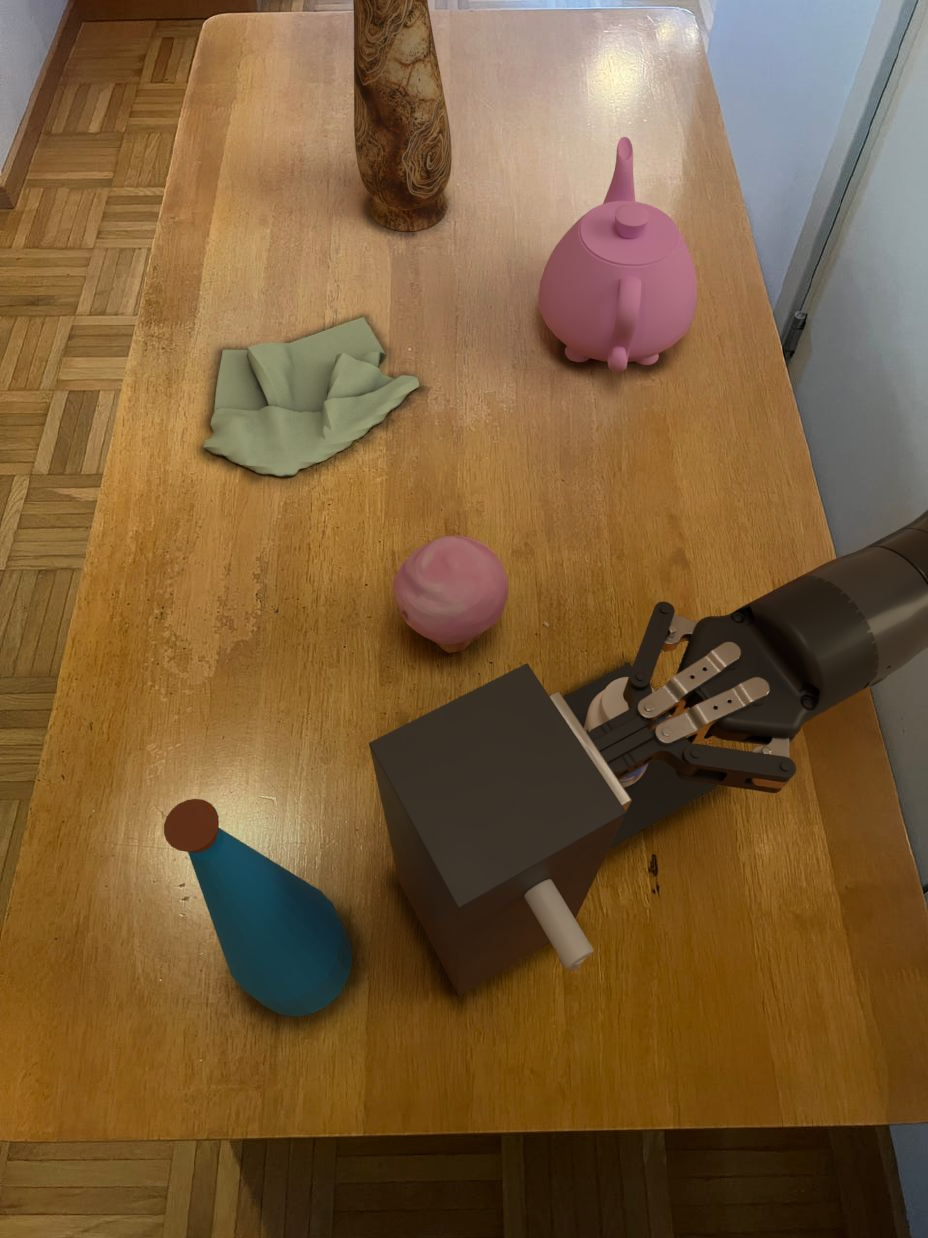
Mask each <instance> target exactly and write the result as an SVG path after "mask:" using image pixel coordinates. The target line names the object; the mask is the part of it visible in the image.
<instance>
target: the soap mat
mask: <svg viewBox="0 0 928 1238" xmlns="http://www.w3.org/2000/svg"><path fill="white" fill-rule="evenodd" d="M632 667H633V665H631V664H630V662H628V663H625V664H623V665H622V666H620V667H617V668H616V669H614V670H611V671H610V672H607V674H605V675H602V676H601V677H599V678H597V679H595V680H593V681H591V682H589V683H587V684H585V685H583V686H581V687H579V688H577V689H576V690H575V689H574V691H571V692H570V693H568V694H566V695H564V696H562V697H563V698H564V700H565V701H566V703H567V704H568V706H569V707H570V709H571V710H572V712H573V713H574V715H575V716H576V718H577V719H578V721H579V722H580V724H581V725H582V727H583V728H584V725H585V721H586V717H587V713H588V709H589V706H590V704H591V702H592V701H593V699H594V698H595V697H596V696H597V695H598V694H599V693H600V692H602V691H603V690H605V688H606V687H607V686H608V685H609V684H610V683H611V682H613V681H614V680H616V679H619V678H623V677H629V675H630V672H631V669H632ZM717 786H718V785H715V784H708V783H701V782H695V781H688V780H683V779H681V778H680V777H678V775H677V774H676V771H675V768H673V767H672V766H671V765H669V764H668V763H666V762H665V761H662V760H655V761H652V762H650V763H648V766H647V768H646V770H645V772H644V773H643V775H642V776H641V777H640V778H639V779H638V780H637V781H636V782H635V783H633V784H632V785H629V786H627V787H623V788H624V789H625V791H626V792H627V794H628V795H629V796H630V798H631V800H632V801H631V803H630V805H629V807H628V809H627V811H626V812H627V813H626V815H625V817H624V819H623V821H622V823H621V825H620V827H619V829H618V831H617V834H616V836H615V838H614V840H613V842H612V844H611V846H610V848H609V850H610V849H612V848H614V847H616V846H618V845H620V844H621V843H623V842H624V841H626V840H628V839H630V838H631V837H633V836H635V835H636V834H638V833H640V832H642V831H644V830H646V829H647V828H648V827H650V826H653V825H654V824H656V823H657V822H660V821H661V820H662V819H665V818H666V817H668V816H669V815H671V814H673V813H675V812H676V811H678V810H680V809H681V808H683V807H685V806H687V805H689V804H690V803H692V802H694V801H696V800H697V799H699V798H701V797H703V796H704V795H706V794H708V793H709V792H712V791H713V790H715V789H716V788H717Z"/></svg>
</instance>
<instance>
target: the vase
mask: <svg viewBox="0 0 928 1238" xmlns="http://www.w3.org/2000/svg"><path fill="white" fill-rule="evenodd" d="M352 1H353V3H352V5H353V136H354V149H355V157H356V164H357V168H358V172H359V177H360V179H361V182H362V184H363V187H364V188H365V190H366V192H367V193H368V194H369V196H370V197H371V200H370V203H369V210H370V215H371V216H372V218H373V220H374V221H376V222H377V223H378V224H379V225H381V226H382V227H385V228H387V229H391V230H394V231H399V232H414V231H421V230H426V229H428V228H430V227H432V226H434V225H436V224H438V222H440V221H441V219H442V218H443V217H444V216H445V215H446V212H448V211H447V210H448V207H449V206H448V205H449V204H448V198H447V196H446V195H445V193H444V191H445V190H446V188H447V186H448V184H449V180H450V178H451V172H452V161H453V155H452V154H453V152H452V151H453V150H452V136H451V127H450V120H449V114H448V109H447V104H446V98H445V92H444V86H443V81H442V76H441V70H440V65H439V59H438V55H437V49H436V44H435V38H434V31H433V27H432V20H431V15H430V10H429V9H430V8H429V2H428V0H352Z"/></svg>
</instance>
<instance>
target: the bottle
mask: <svg viewBox="0 0 928 1238" xmlns="http://www.w3.org/2000/svg"><path fill="white" fill-rule="evenodd" d="M219 818H220V817H219V814H218V811H217V809H216V808H215V806H214V805H213V804H212V803H210V802H209V801H207V800H205V799H201V798H191V799H190V798H189V799H185V800H184V801H181V802H180V803H177V804H176V805H175V806H174V807H173V808H172V809H171V810H170V811H169V812H168V814H167V815H166V818H165V821H164V823H163V835H164V838H165V840H166V842H167V843H168V844H169V846H170V847H171V848H173V849H175V850H177V851H178V852H186V853H187V854H188V857H189V860H190V862H191V865H192V868H193V871H194V874H195V876H196V879H197V883H198V886H199V889H200V891H201V894H202V897H203V900H204V902H205V905H206V908H207V911H208V914H209V917H210V919H211V922H212V925H213V928H214V931H215V934H216V937H217V939H218V942H219V945H220V948H221V952H222V954H223V957H224V959H225V962H226V964H227V967H228V970H229V973H230V976H231V977H232V978H233V979H234V981H235V982H236V983H237V984H238V986H240V988H241V989H242V990H243V991H245V992H246V993H247V994H248V995H249V996H251V997H252V998H253V999H254V1000H256V1001H257V1002H258V1003H260V1004H261V1005H263V1006H264V1007H265V1008H268V1009H269V1010H271V1011H272V1012H274V1013H276V1014H278V1015H282V1016H288V1017H292V1018H297V1017H302V1016H308V1015H313V1014H315V1013H317V1012H320V1011H321V1010H323V1009H324V1008H326V1007H328V1006H329V1005H330V1004H332V1002H333V1001H334V1000H335V999H336V998H337V997H338V996H339V995H340V994H341V993H342V991H343V989H344V987H345V986H346V984H347V982H348V980H349V978H350V975H351V970H352V964H353V961H354V959H353V948H352V942H351V939H350V937H349V935H348V933H347V930H346V928H345V926H344V924H343V921H342V920H341V918H340V916H339V914H338V912H337V910H336V907H335V905H334V904H333V902H332V901H331V900H330V899H329V898H328V897H327V896H326V894H325V893H324V892H323V891H322V890H321V889H319V888H317V887H316V886H314V885H313V884H311V883H309V882H308V881H306V880H304V879H303V878H301V877H300V876H298V875H296V874H295V873H293V872H291V871H290V870H288V869H287V868H285V867H283V866H282V865H280V864H278V863H277V862H275V861H274V860H273V859H271V858H269V857H267V856H265V855H264V854H262V853H261V852H260V851H258V850H256V849H255V848H253V847H251V846H249V845H248V844H246V843H244V842H243V841H241V840H240V839H238V838H237V837H235V836H233V835H232V834H230V833H228V832H227V831H225V830H224V829H222V828H220V819H219Z"/></svg>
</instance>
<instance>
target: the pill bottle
mask: <svg viewBox="0 0 928 1238" xmlns="http://www.w3.org/2000/svg"><path fill="white" fill-rule="evenodd" d="M628 678H629V677H623V678H619V679H616V680H614V681H613V682H611V683H610V684H609V685H608V686H607V687H606V688H605V690H603V691H602V692H600V693H599V694H598V695H597V696H596V697H595V698H594V699H593V701H592V702H591V704H590V706H589V709H588V713H587V717H586V721H585V725H584V730H585V731H586V733H587V734H588V733H589V732H590V731H591V730H592V729H593V728H595V727H597V726H599V725H601V724H603V723H605V722H607V721H608V720H610V719H612V718H614V717H616V716H618V715H620V714H622V713H623V712H625V711H627V710H628V709H629V708H628V704H627V702H626V701H625V700H624V698H623V692H624V689H625V686H626V683H627V680H628ZM651 689H652V692H655V691H656V690H655V689H654V687H652V686H651ZM647 766H648V764H646V765H645V766H643V767H641V768H639V769H637V770H636V771H634V772H632V773H630V774H628V775H627V776H625V777H623V778H621V779H619V782H620V783H621V785H622V786H623V787H627V786H629V785H632V784H633V783H635V782H636V781H637V780H638V779H639V778H640V777H641V776H642V775H643V773H644V772H645V770H646V768H647Z"/></svg>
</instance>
